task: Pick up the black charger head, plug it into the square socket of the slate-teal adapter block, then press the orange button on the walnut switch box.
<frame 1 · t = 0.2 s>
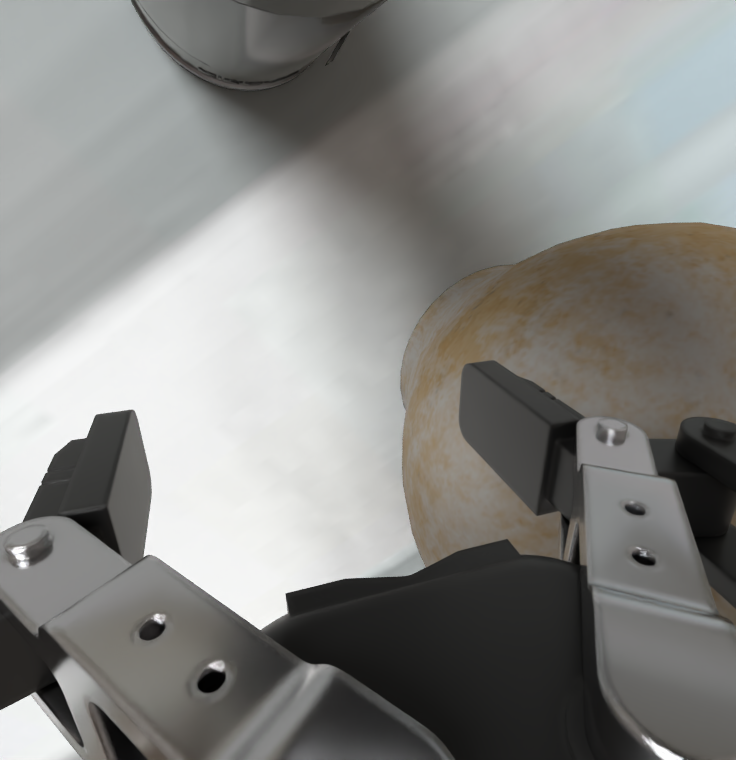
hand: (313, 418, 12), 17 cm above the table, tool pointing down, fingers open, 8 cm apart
vase: (493, 365, 35), on the table
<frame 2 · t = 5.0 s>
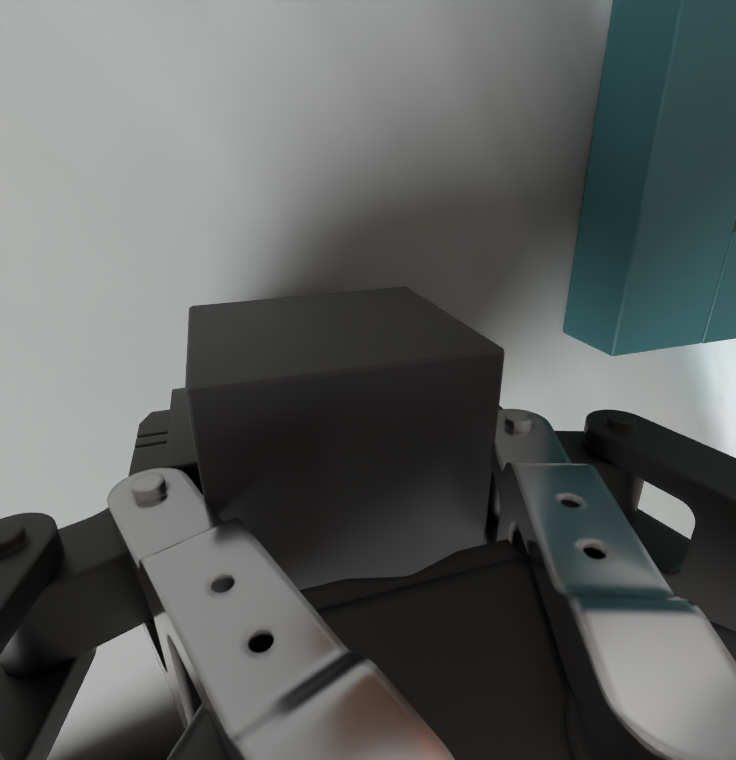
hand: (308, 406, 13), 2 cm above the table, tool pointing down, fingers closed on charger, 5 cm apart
charger: (294, 373, 15), on the table, touching gripper
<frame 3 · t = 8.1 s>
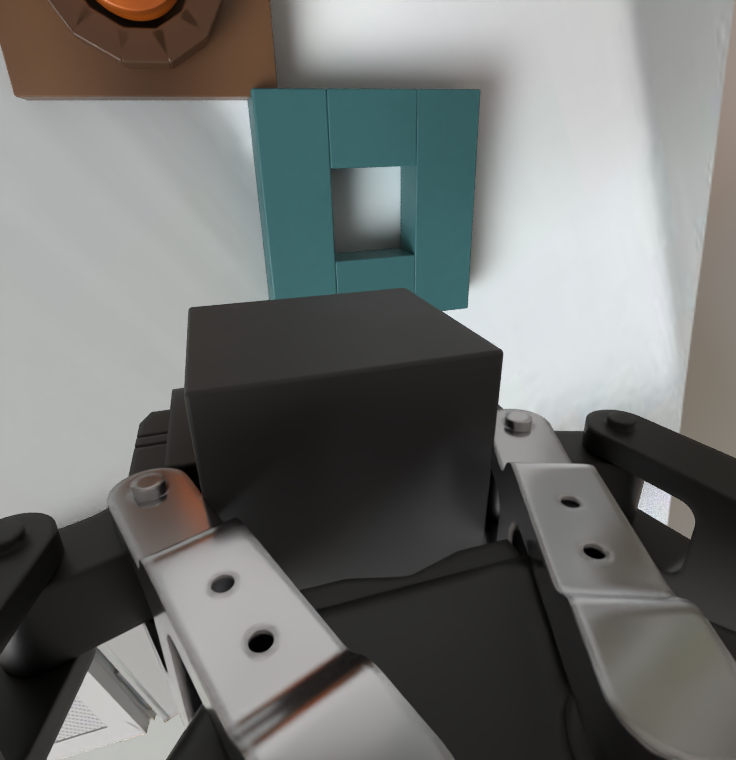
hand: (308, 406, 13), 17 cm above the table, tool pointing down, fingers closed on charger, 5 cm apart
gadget: (109, 619, 35), on the table
adapter: (362, 209, 29), on the table
charger: (294, 374, 15), point 15 cm above the table, touching gripper
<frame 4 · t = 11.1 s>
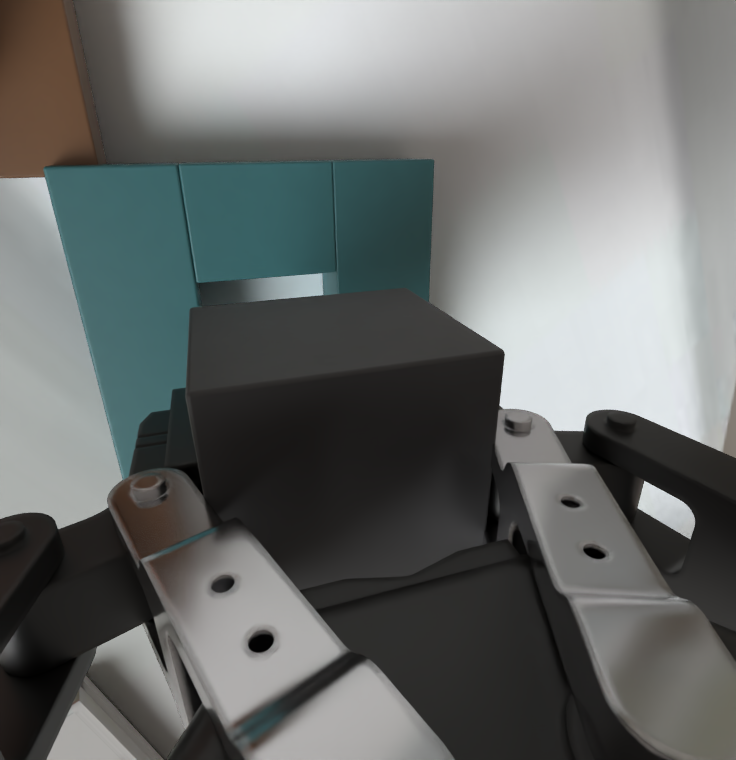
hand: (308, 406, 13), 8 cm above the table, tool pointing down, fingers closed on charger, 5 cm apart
adapter: (266, 323, 20), on the table
charger: (295, 374, 15), point 5 cm above the table, touching gripper
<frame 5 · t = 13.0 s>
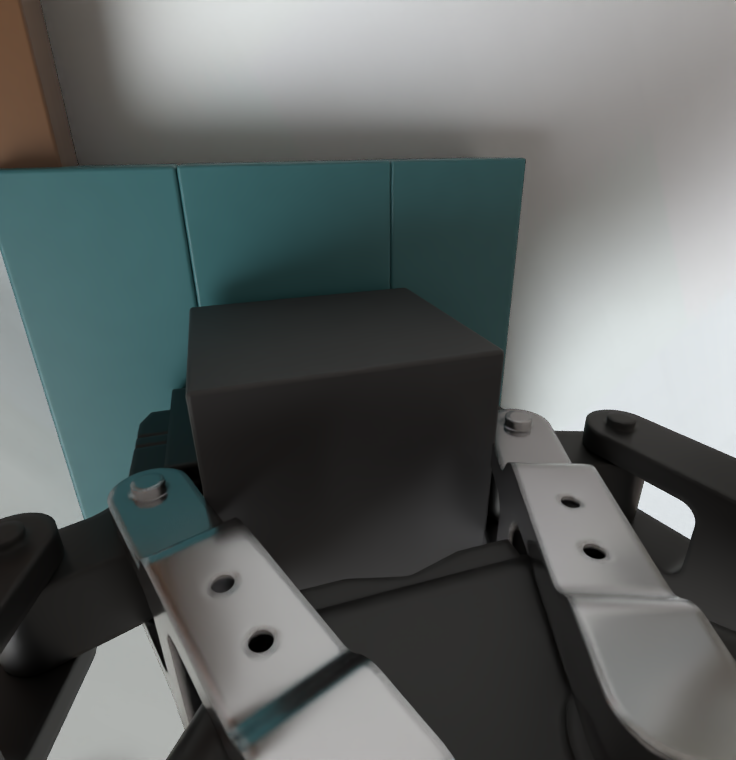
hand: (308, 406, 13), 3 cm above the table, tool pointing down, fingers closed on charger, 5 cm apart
adapter: (292, 370, 15), on the table
charger: (295, 374, 15), resting in adapter, touching gripper
when the fingers open (3 cm above the table, at t = 17.7 s): charger stays where it is, resting in adapter.
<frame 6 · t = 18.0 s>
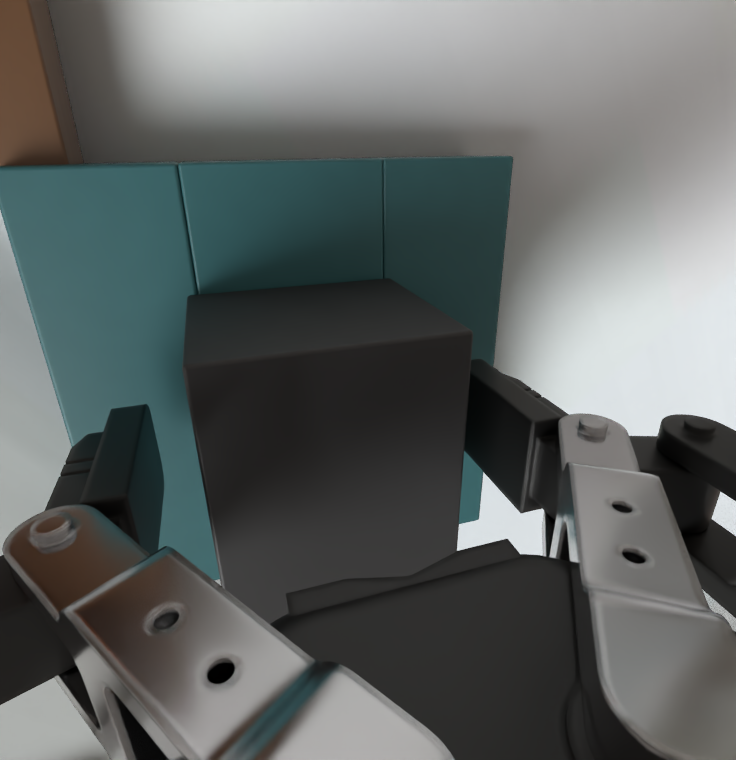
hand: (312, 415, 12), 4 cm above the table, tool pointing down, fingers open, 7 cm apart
adapter: (289, 362, 16), on the table
charger: (287, 362, 16), resting in adapter
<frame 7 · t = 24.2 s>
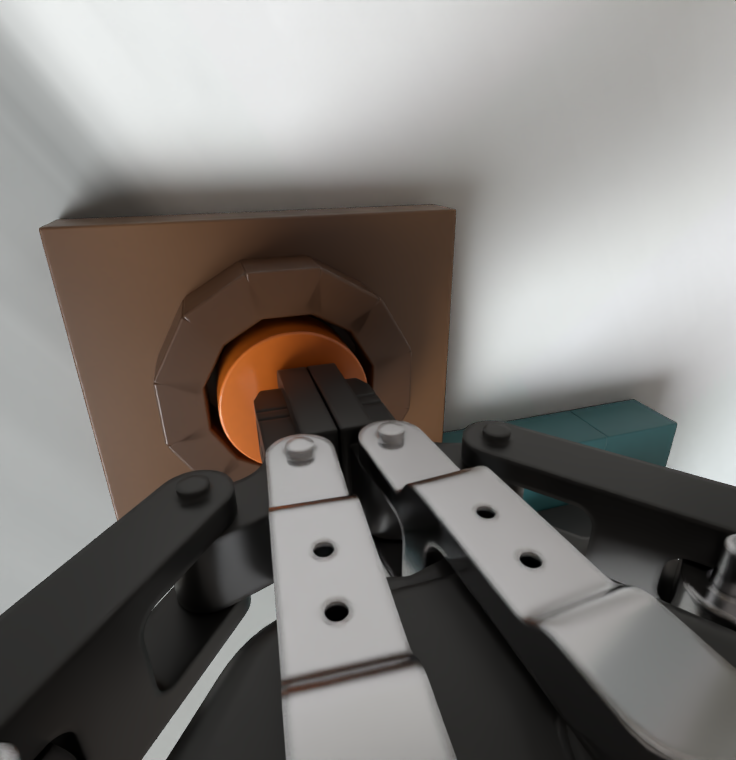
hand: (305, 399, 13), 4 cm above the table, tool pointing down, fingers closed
adapter: (507, 526, 24), on the table
charger: (506, 527, 24), resting in adapter
switch box: (275, 352, 17), on the table
power button: (291, 390, 14), point 3 cm above the table, slide at -0.8 cm, touching gripper
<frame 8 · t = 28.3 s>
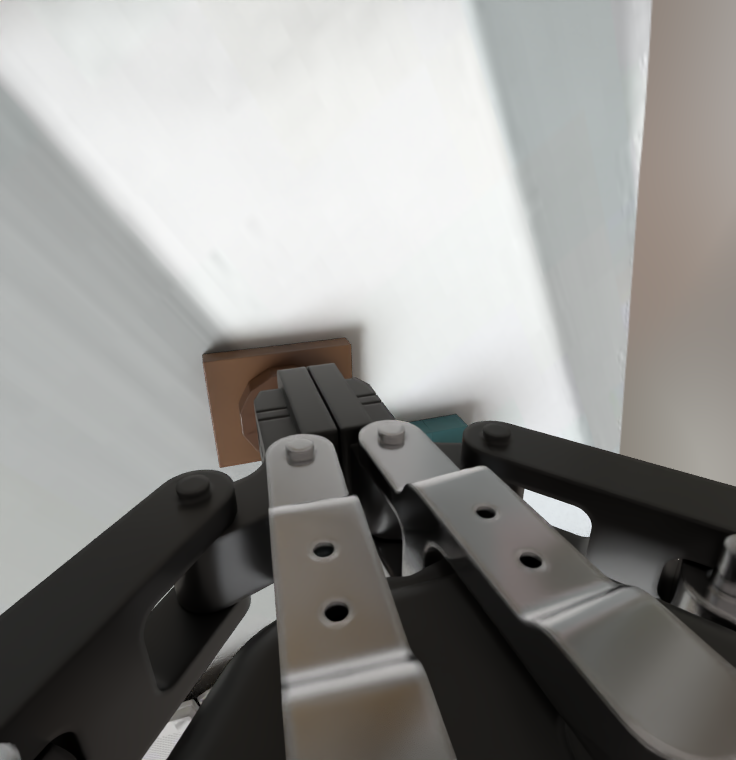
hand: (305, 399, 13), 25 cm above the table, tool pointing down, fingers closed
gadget: (225, 714, 53), on the table
adapter: (397, 477, 47), on the table
switch box: (281, 397, 41), on the table
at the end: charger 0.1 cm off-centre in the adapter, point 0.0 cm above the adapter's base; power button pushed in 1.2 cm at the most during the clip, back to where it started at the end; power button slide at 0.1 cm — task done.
